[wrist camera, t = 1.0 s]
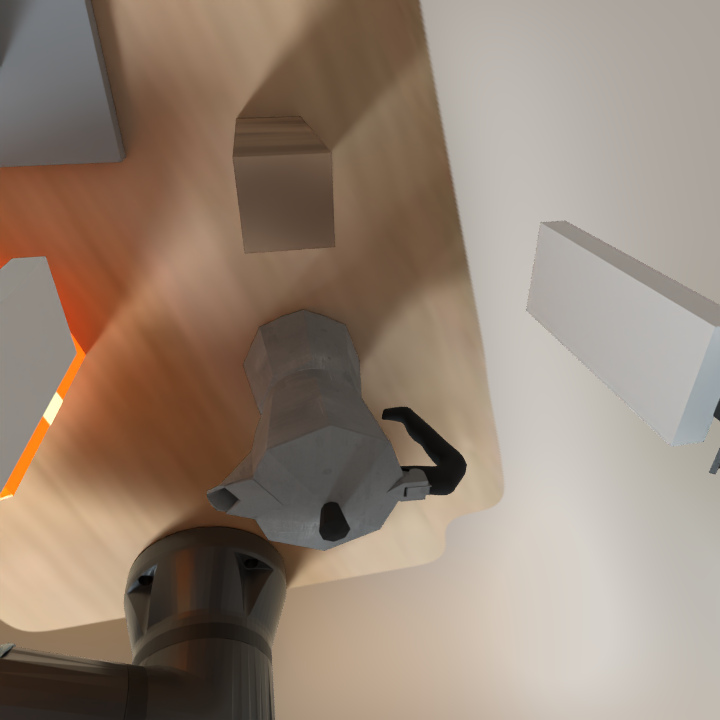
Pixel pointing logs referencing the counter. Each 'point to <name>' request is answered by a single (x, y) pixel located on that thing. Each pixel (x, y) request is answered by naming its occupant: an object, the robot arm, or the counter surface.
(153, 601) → the robot arm
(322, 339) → the coffeepot
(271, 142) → the peg
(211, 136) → the counter surface
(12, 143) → the socket block
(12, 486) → the orange juice
